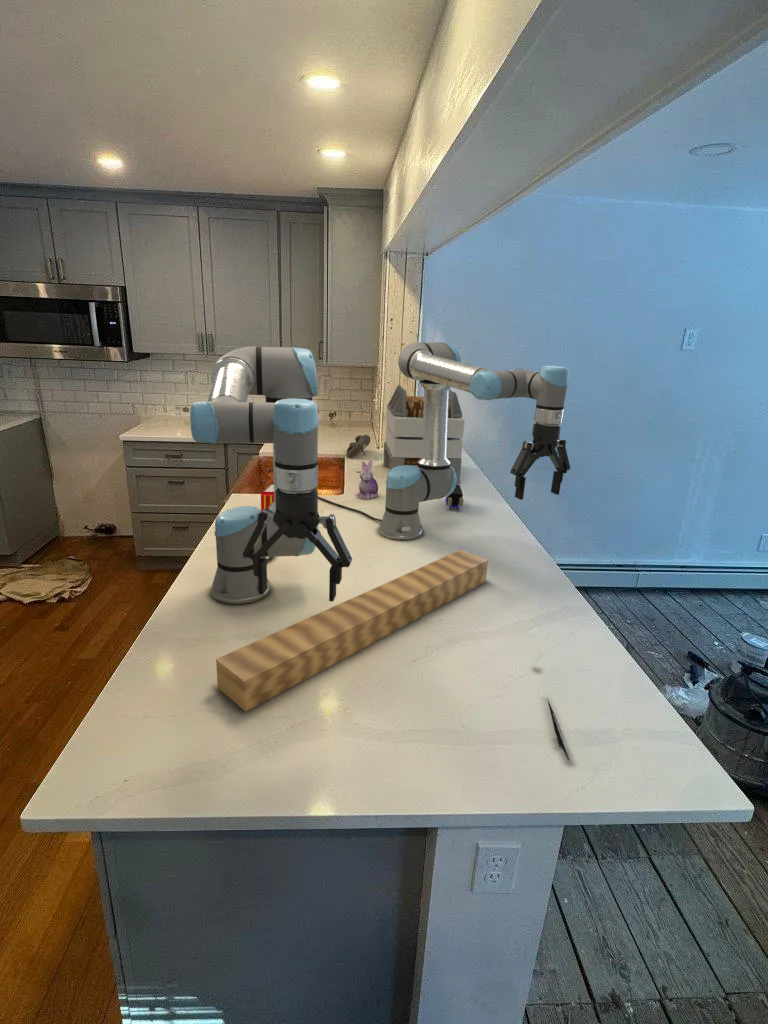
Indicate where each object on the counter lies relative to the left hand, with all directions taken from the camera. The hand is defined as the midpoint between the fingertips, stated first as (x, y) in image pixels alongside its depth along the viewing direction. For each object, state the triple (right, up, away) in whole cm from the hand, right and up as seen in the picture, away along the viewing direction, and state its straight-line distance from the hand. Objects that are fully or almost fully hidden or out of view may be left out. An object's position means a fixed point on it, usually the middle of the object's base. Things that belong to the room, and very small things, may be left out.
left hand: (297, 594), depth 108 cm
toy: (-22, +14, +103) cm, 106 cm away
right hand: (+61, +21, +57) cm, 86 cm away
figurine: (+10, +22, +130) cm, 132 cm away
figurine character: (+45, +18, +123) cm, 132 cm away
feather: (+50, -24, +6) cm, 56 cm away
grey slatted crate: (+34, +35, +167) cm, 174 cm away
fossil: (+2, +47, +197) cm, 203 cm away
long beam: (+14, -13, +34) cm, 39 cm away
